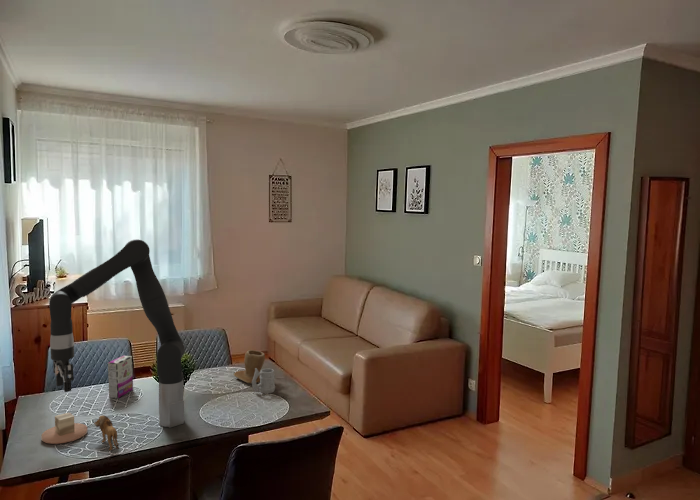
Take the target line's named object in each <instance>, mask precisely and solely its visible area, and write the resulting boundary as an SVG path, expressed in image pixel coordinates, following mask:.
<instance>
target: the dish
mask: <svg viewBox="0 0 700 500" xmlns="http://www.w3.org/2000/svg"><path fill="white" fill-rule="evenodd" d="M74 429H75V432H72V433H69V434H65V435H62V436H59V435H58V434H57V433H56V432H55V426H53V427H50V428H48V429H46V430H45V431H44V432H42V433H41V438H40V439H41V441H42V442H44V443H46V444H51V445H57V444H64V443H65V444H66V443H70V442H73V441H76V440H79V439H81V438H83V437H84V436H85V435H87V433H88V426H87V425H86V424H84V423H78V422H74Z"/></svg>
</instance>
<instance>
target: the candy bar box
mask: <svg viewBox="0 0 700 500" xmlns="http://www.w3.org/2000/svg"><path fill="white" fill-rule="evenodd" d="M107 376H108V377H107V378H108V398H110V399H120V398H122V397H123V396H125V395H126V394H128V393H130V392H133V391H134V382H133V381H134V379H133V378H134V377H133V356H132V355H121V356H119V357H117V358H115V359H113V360H111V361H109V362H107Z"/></svg>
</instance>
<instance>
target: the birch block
mask: <svg viewBox="0 0 700 500" xmlns="http://www.w3.org/2000/svg"><path fill="white" fill-rule="evenodd" d="M74 423H75V416H74V414H72V413H71V412H66V413H61V414H58V415H55V416H54V427H55V432H56V433H57V434H58V435H59V436H62V435H65V434H69V433H72V432H75V429H74Z"/></svg>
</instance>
